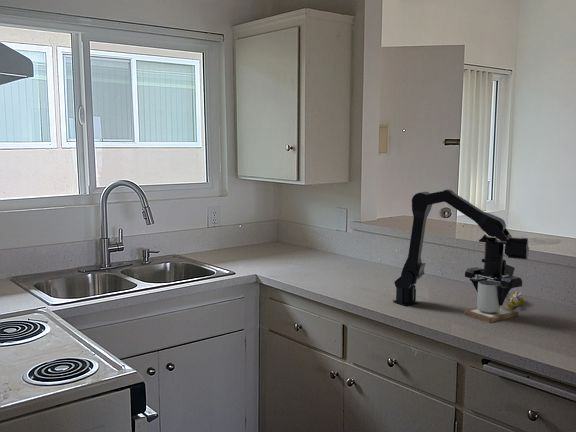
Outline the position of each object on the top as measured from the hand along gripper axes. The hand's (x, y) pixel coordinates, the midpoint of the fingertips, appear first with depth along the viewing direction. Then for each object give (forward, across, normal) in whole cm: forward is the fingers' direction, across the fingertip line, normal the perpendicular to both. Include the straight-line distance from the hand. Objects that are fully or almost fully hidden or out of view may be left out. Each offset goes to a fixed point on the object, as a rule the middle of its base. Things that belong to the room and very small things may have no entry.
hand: (491, 302), depth 188 cm
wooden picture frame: (+4, 0, 0) cm, 4 cm away
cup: (+2, +1, 0) cm, 2 cm away
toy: (+5, +4, -18) cm, 19 cm away
